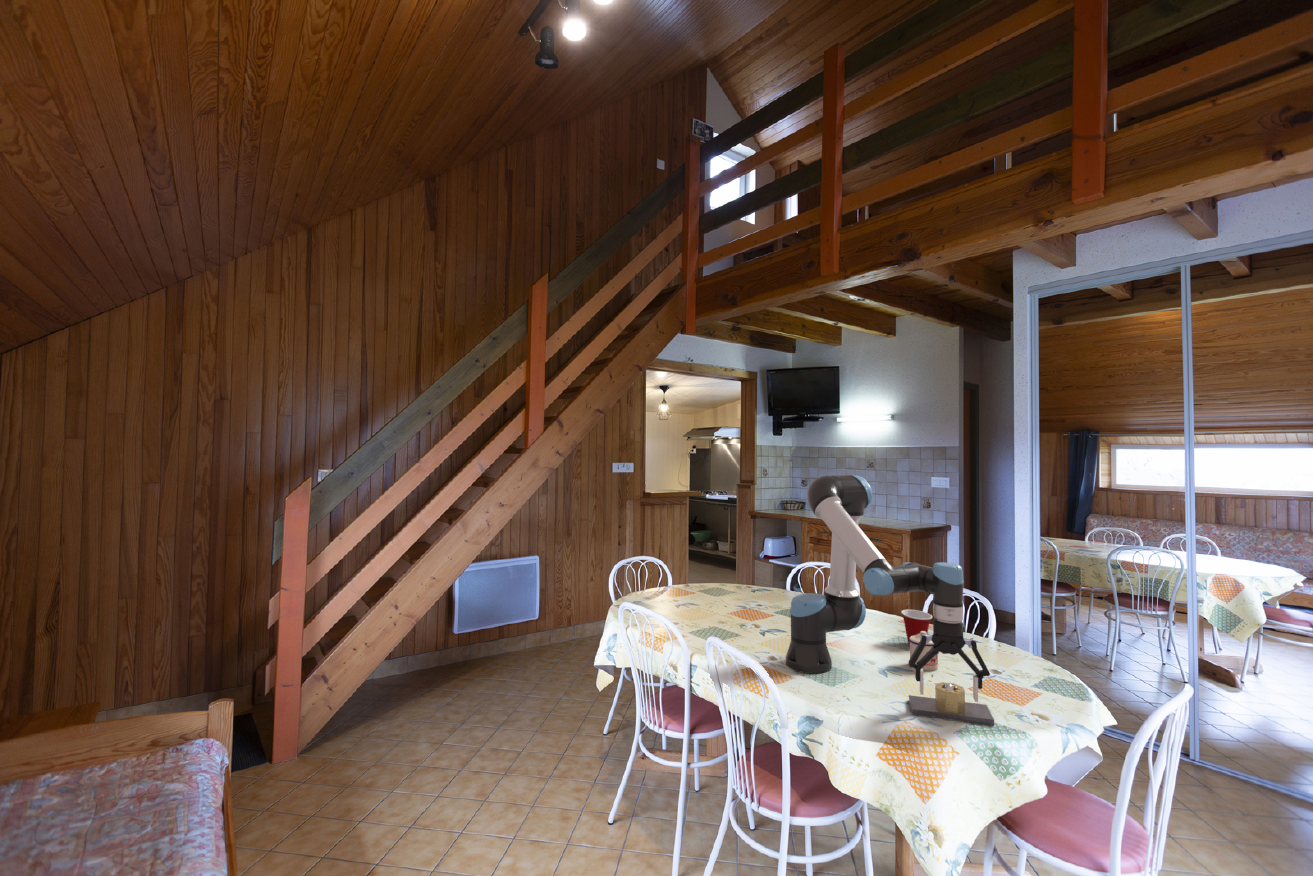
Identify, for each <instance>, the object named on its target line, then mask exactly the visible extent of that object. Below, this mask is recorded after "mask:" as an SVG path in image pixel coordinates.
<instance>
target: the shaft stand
mask: <svg viewBox="0 0 1313 876" xmlns="http://www.w3.org/2000/svg"><path fill="white" fill-rule="evenodd" d="M945 683H946V684H945V689H947V690H953V691H954V685H952V684H948V683H949V682H945ZM908 702H909V706H910V712H911V715H912V716H913V715H914V716H919V715H920V717H928V718H935V719H943V720H950V721H957V722H958V721H959V722H964V723H965V722H966V723H973V724H978V725H979V724H980V725H987V726H988V725H989V726H995V719H994V717H993V715H992V712H991V711H990V709H989V707H988V705H987V704H984V703H978V702H976V703H975V702H967V701H965V712H961V713H950V712H945V711H943V710H941V709H938V708H937V707H936V701H935V698H934V697H926V696H919V695H911V694H909V695H908Z"/></svg>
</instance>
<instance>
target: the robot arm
mask: <svg viewBox="0 0 1313 876" xmlns="http://www.w3.org/2000/svg"><path fill="white" fill-rule="evenodd" d="M806 494H807V495H806V497H807V498H806V499H807V503H808V505H809V508H810V510H811V511H812V513H813V515H815V517H816V518H817V519H819V520H822V521H823V522H824V523H825V525H826V526H827V528H828V529H829V530H830V531H831V547H830V565H829V567H830V568H829V584H828V585H827V586H826V587H825V588H824V593H818V592H817V593H816V592H811V593H809V592H807V593H806V592H805V593H800V594H797V595H795V596H794V597H793V598H792V599H791V602H790V610H789V612H790V643H789V647H788V649H787V651H786V652H787V653H786V655H785V665H786V666H787V667H788V668H789V669H791V670H794V671H797V672H800V673H806V674H821V673H823V674H824V673H827V672H828V671H831V670H832V668H833V667H832V665H833V663H832V662H833V661H832V658H831V655H830V652H829V649H828V646H827V633H832V632H840V631H851V630H852V629H857V628H859V627H860V626H861V625H863V623H864V621H865V618H866V613H867V609H866V605H865V602H864V599H863V598H862V597H861V596H860V592H859V591H858V590H857V588H856V577H857V566H858V568H859V569H860V570H861V571H862V573H863V575H862V576H863V577H862V581H863V584H864V588H865V590H866V591H867V592H868V593H869V594H870V595H873V596H889V595H893V594H901V593H902V594H905V593H913V592H921V593H922V592H923V593H925V594H926V593H927V594H929V595H932V597H933V598H932V599H933V600H932V603H933V605H932V606H933V607H932V612H933V613H932V614H933V615H932V617H933V618H932V622H933V624H932V625H933V626H932V629H933V632H932V635H929V634H927V635H925V634H924V633H922V634H921V639H920V642H919V644H918V646H917V647H916V649H915V651H914V653H913V654H912V656H911V658H910V657H909V660H908V666H909V667H910V668H913V669H914V670H915V674H914V675H915V681H916V682H919V693H920V695H924V670H923V667H924V666H925V665H926V664H927V663H928V662H929V661H930V660H931V659H932V658H933V657H934V656H935V655H937V654H938V653H942V654H943V655H947V654H949V655H952V656H955V655H957V654H958V656H959V657H961V658H962V659H963V660H964V662H965V663H966V664H967V665H968V666H969V668H971V670H972V671H973V673H972V683H973V684H972V685H973V686H972V693H973V694H972V695H973V696H972V698H973V701H974V703H975V702H976V703H979V690H982V689H983V678H984V677H989V676H991V673H990V671H989V669H988V667H987V666H986V663H985V661H984V659H983V657H982V655H981V654H980V652H979V650H978V645H977V641H976V640H975V638H973V637H972V638H971V637H970V638H969V639H964V622H963V620H964V582H965V581H964V573H963V567H962V566H961V565H959V564H957V563H954V562H953V563H952V562H942V561H941V562H935V563H934V564H933V566H932V567H931V566H927V565H924V564H919V563H917V562H908V561H906V562H903V563H902V564H901V565H896V566H892V565H891V564H890V563H889V561H888V560H887V559H886V558H885V557H884V556H883V554H882V553H881V552H880V551H879V550H878V548H877V547H876V546H875V545H874V543H873V542H872V541H871V540H870V538H869V537H868V536H867V535H866V534H865V532H864V531H863V530H862V528H860V526H859V525H860V524H859V521H860V520H861V519H862V518H863V517H864V515H865V509H867V508H868V507H870V505H871V503H872V501H873V491H872V487H871V485H870V484H869V483H868V481H867V479H865V478H864V477H862V476H860V475H856V474H855V475H854V474H839V475H838V474H837V475H833V474H832V475H830V474H829V475H828V474H827V475H821V476H819V477H816V478H815V479H814V480H813V481H812V482H811V483H810V485H809V486H808V489H807V493H806ZM928 635H929V636H928ZM929 641H932V642H933V643H934V646H933V647H932V648H931V649H930V650H929V651H928V652H927V653H926V654H925V655H924V656H923V657H922V658H921V659H920V660H919V661H918V662H917V663H916V661H917V659H918V658H919V656H920V654H921V652H922V651H923V649H924V647H925V645H926V643H929ZM965 645H967V647H968V648H969V649H971V650H972V653H973V654H974V656H975V658H976V660H977V661H978V664H979V666H980V667H981V669H982V670H981V669H979V668H978V667H977V666H976V664H975V663H974V662H973V660H972V659H971V658H970V657H969V656H968V655H967V654H966V653H965V651H964V650H963V648H964V647H965ZM938 655H939V654H938Z"/></svg>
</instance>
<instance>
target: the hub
mask: <svg viewBox="0 0 1313 876" xmlns="http://www.w3.org/2000/svg"><path fill="white" fill-rule="evenodd" d="M946 683H948V684H952V685H954V691H953V690H947V689H945V684H946ZM934 686H935V687H934V689H935V690H934V691H935V695H934V696H935V701H936V707H937V708H938V709H941V710H943V711H945V712H950V713H961V712H965V702H966V696H965V695H966V691H965V688H964V687H963V686H961V685H959V684H956V683H955V682H954V683H951V682H943V681H941V682H937V683H935V684H934Z"/></svg>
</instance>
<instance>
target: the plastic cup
mask: <svg viewBox="0 0 1313 876" xmlns="http://www.w3.org/2000/svg"><path fill="white" fill-rule="evenodd" d="M900 613H901V614H902V617H903V618H902V619H903V623H904V629H905V634H906V639H907V644H908V645H909V646H910V641H909V638H910V637H911V636H914V635H917V634H920V632H921V631H925V632H926V633H927V634H928V632H929V627H930V622H931V620H933V615H932V614H930V613H928V612H925V611H921V610H918V609H917V610H916V609H903V610H901V612H900Z"/></svg>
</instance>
